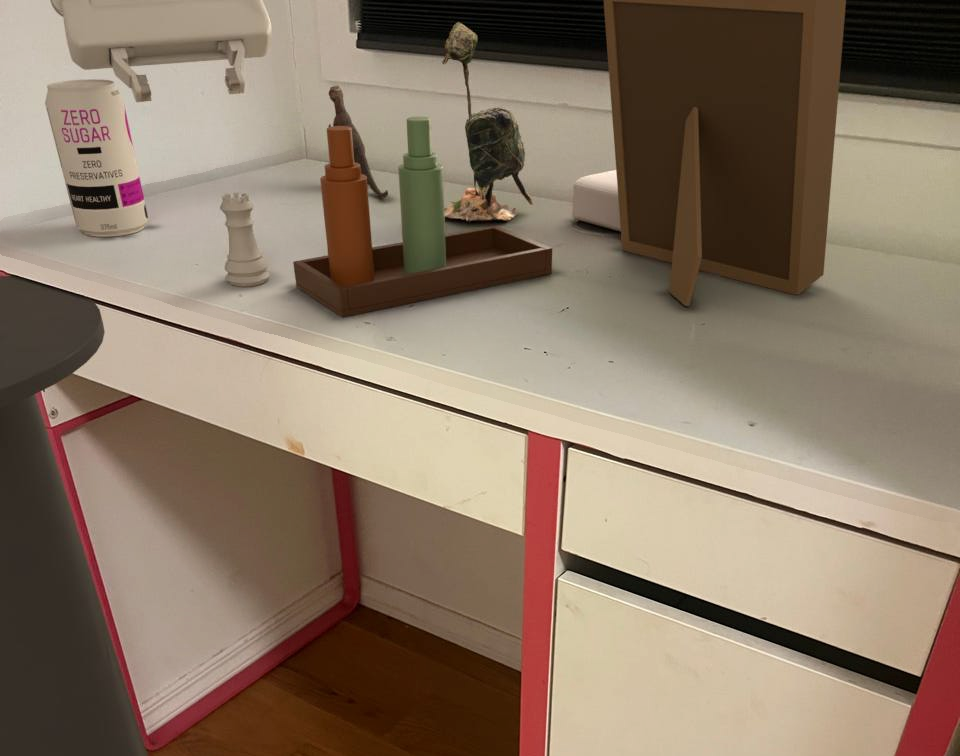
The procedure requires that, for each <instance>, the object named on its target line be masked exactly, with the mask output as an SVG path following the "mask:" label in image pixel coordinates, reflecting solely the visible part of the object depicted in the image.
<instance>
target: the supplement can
mask: <svg viewBox="0 0 960 756" xmlns="http://www.w3.org/2000/svg"><path fill="white" fill-rule="evenodd" d="M46 88H47V91H46V97H45V102H44V105H45V108H46V112H47V113H46V114H47V117H48V120H49V124H50V128H51V132H52V137H53V141H54V143H55V148H56V152H57V156H58V159H59V163H60V164H59V165H60V167H61V172H62V175H63V179H64V184H65V186H66V191H67V195H68V199H69V203H70V206H71V212H72V215H73V218H74V222H75V226H76V228H77V229H78V230H81V231H82V232H83V233H84V234H85V235H86V236H91V237H97V238H98V237H99V238H110V237H120V236H126V235H131V234H135V233H137V232H140V231H143V229H145V227H146V226H145V225H146V224H147V223H148V222H149V216H148V215H149V214H148V210H147V206H146V201H145V196H144V191H143V187H142V181H141V177H140V173H139V168H138V163H137V159H136V153H135V149H134V144H133V139H132V135H131V130H130V125H129V119H128V116H127V110H126V105H125V101H124V97H123V95H122V93H121V92H120V91H119V89H118V88H117V87H116V85H115V82H114V81H113V80H110V79H100V78H99V79H97V78H96V79H95V78H93V79H71V80H62V81H56V82H52V83H49V84H47V86H46Z"/></svg>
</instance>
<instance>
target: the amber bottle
mask: <svg viewBox="0 0 960 756" xmlns="http://www.w3.org/2000/svg"><path fill="white" fill-rule="evenodd" d="M326 139H327V149H328V159H329V163H326V164H325V165H324V175H322V176H321V177H320V179H319V180H320V181H319V182H320V189H321V201H322V210H323V218H324V230H325V239H326V247H327V255H328V258H329V268H330V277H331V279H332V280H334V281H335V282H337V283H339V284H340V285H342V286H348V285H353V284H358V283H364V282H369V281H374V280H375V278H374V265H373V252H372V247H373V241H372V229H371V227H372V226H371V215H370V203H369V202H370V201H369V190H368V188H369V187H368V184H367V177H366V175H363V174H361V168H360V164H359V163H355V162H354V151H353V139H352V128H351V127H349V126H333V125H331V127H328V126H327V128H326Z"/></svg>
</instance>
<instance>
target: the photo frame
mask: <svg viewBox="0 0 960 756" xmlns="http://www.w3.org/2000/svg"><path fill="white" fill-rule="evenodd" d="M846 6H847V0H603V10H604V11H603V12H604V23H605V24H604V25H605V36H606V37H605V38H606V51H607V63H608V76H609V77H608V78H609V92H610V105H611V117H612V128H613V129H612V130H613V131H612V132H613V144H614V146H613V147H614V159H615V170H616V172H617V186H618V199H619V212H620V226H621V232H620V240H621V250H622V251H623V252H627V253H633V254H636V255H640V256H643V257H648V258H652V259H655V260H659V261H663V262H667V263H670V264H671V270H670V271H671V272H670V282H669V293H670V294H671V295H672V296H673V297H674V298H676V299H677V300H678V301H679V302H680V303H681V304H682V305H684V306H685V307H690V306H691V303H692V297H693V295H694V289H695V285H696V282H697V278H698V274H699V271H702V272H706V273H710V274H714V275H717V276H721V277H724V278H725V277H726V278H729V279H733V280H738V281H741V282H744V283H749V284H753V285H756V286H760V287H764V288H768V289H772V290H775V291H780V292H783V293H787V294H790V295H794V296H799V295H800V294H801V293H802V292H804V291H805V290H807V288H809V287H810V286H811V285H812V284H814V283H815V282H816V281H818V280H819V279H820V278H821V277H823V276H824V273H825V261H826V251H827V250H826V249H827V236H828V225H829V213H830V212H829V211H830V199H831V188H832V175H833V165H834V151H835V139H836V128H837V115H838V105H839V103H838V102H839V92H840V91H839V89H840V79H841V66H842V53H843V43H844V30H845V29H844V28H845V17H846Z"/></svg>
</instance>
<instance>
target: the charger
mask: <svg viewBox="0 0 960 756" xmlns="http://www.w3.org/2000/svg"><path fill="white" fill-rule="evenodd" d="M571 208H572V210H571V215H572V218H573V219H574V220H577V221H580V222H584V223H587V224H591V225H595V226H598V227H600V228H601V227H602V228H606V229H610V230H612V231H616V232H620V233H621V226H620V212H619V199H618V186H617V172H616V169H613V170H608V171H603V172H598V173H594V174H593V173H592V174H589V175H585V176H581V177H579V178H578V179H576V181H574V183H573V187H572V207H571Z"/></svg>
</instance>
